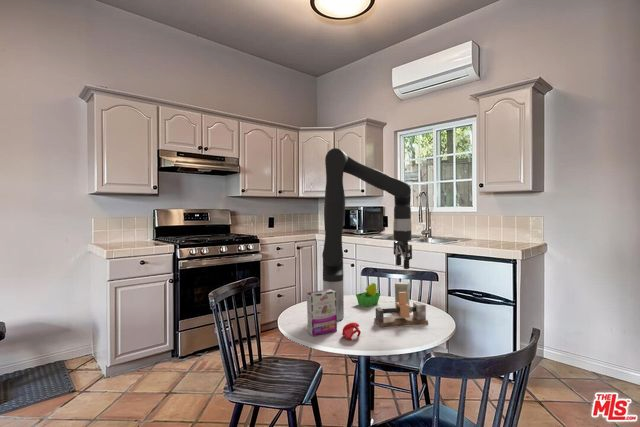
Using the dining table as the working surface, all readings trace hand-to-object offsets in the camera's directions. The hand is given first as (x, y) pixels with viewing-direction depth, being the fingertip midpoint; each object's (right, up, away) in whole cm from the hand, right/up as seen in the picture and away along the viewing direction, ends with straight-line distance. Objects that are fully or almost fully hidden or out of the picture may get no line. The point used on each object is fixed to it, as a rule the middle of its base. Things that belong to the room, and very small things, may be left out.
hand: (402, 267), depth 151 cm
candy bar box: (-34, -25, -9) cm, 43 cm away
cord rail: (-1, -24, +1) cm, 24 cm away
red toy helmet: (-23, -25, -15) cm, 37 cm away
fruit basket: (-10, -23, +28) cm, 38 cm away
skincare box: (+5, -23, +22) cm, 32 cm away
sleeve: (0, -21, +1) cm, 21 cm away
